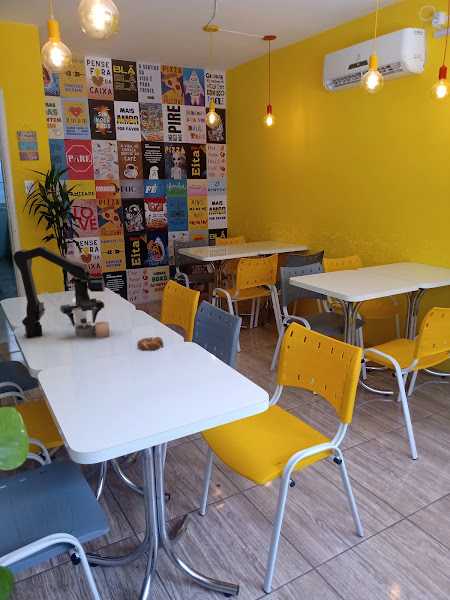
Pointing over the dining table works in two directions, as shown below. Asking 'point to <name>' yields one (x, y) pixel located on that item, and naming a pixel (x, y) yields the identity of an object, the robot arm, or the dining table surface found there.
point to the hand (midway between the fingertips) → (84, 324)
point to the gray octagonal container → (84, 330)
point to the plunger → (83, 322)
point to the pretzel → (150, 343)
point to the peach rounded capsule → (102, 329)
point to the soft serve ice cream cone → (78, 313)
